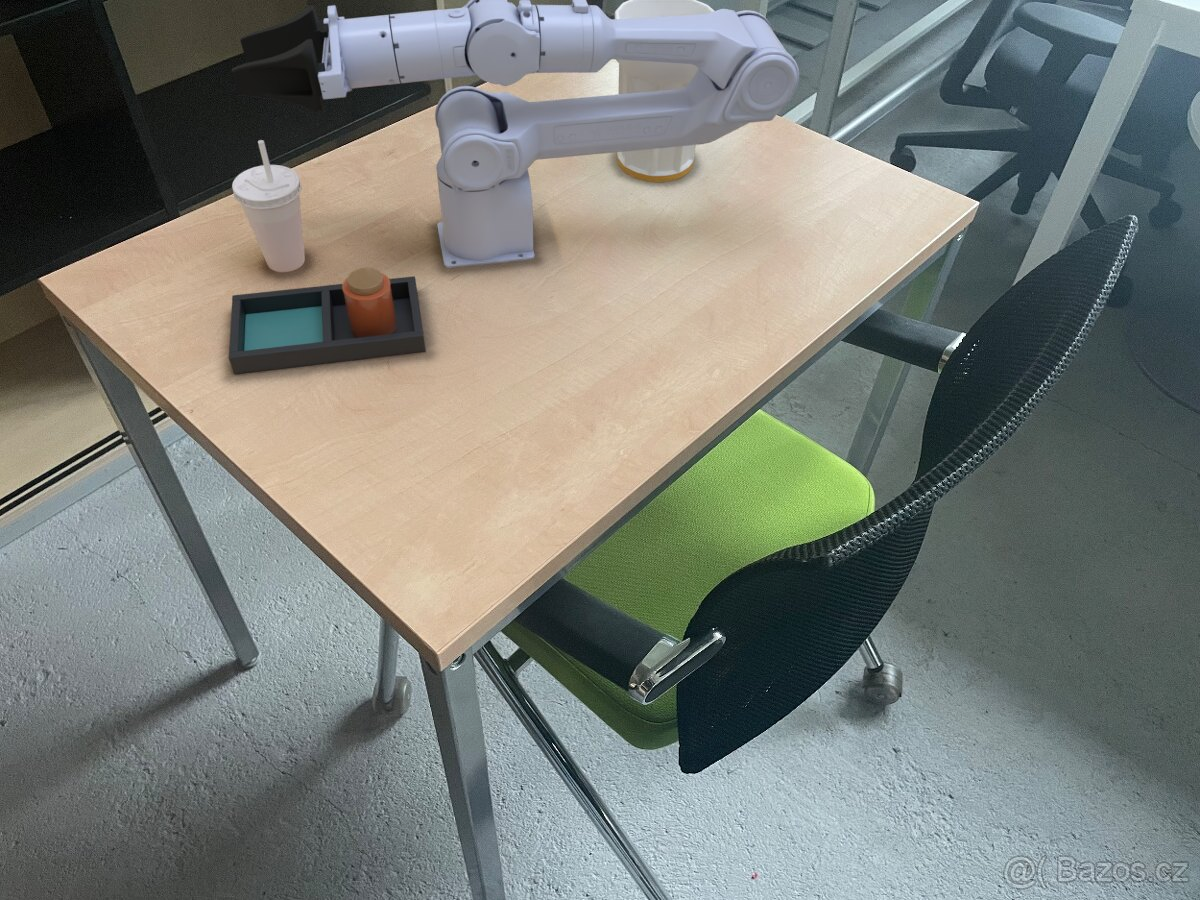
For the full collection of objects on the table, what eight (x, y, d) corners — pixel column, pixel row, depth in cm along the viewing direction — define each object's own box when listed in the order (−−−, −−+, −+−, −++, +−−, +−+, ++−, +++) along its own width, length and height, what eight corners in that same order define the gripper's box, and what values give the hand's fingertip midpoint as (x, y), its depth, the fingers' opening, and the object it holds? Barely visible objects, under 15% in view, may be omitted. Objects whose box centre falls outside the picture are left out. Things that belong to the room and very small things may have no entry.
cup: (589, 168, 113) (594, 20, 100) (637, 128, 120) (647, -15, 107) (673, 198, 109) (688, 50, 96) (718, 155, 116) (738, 11, 103)
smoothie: (303, 287, 96) (272, 163, 86) (244, 277, 97) (206, 153, 87) (328, 250, 101) (301, 128, 90) (271, 241, 101) (238, 119, 91)
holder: (238, 314, 93) (232, 295, 91) (417, 294, 96) (414, 275, 94) (235, 377, 87) (228, 358, 85) (426, 354, 90) (423, 335, 88)
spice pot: (395, 309, 94) (387, 261, 90) (398, 338, 91) (390, 290, 87) (349, 314, 93) (339, 266, 89) (351, 343, 90) (341, 295, 86)
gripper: (385, -23, 88) (234, -9, 86) (387, 30, 77) (215, 47, 76) (399, 55, 93) (256, 69, 91) (403, 115, 82) (241, 133, 81)
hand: (239, 65), depth 84 cm, fingers open, 7 cm apart
